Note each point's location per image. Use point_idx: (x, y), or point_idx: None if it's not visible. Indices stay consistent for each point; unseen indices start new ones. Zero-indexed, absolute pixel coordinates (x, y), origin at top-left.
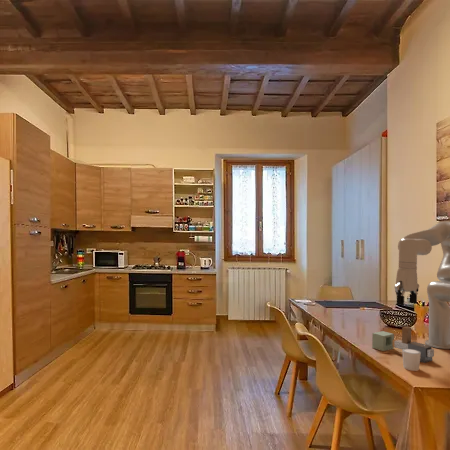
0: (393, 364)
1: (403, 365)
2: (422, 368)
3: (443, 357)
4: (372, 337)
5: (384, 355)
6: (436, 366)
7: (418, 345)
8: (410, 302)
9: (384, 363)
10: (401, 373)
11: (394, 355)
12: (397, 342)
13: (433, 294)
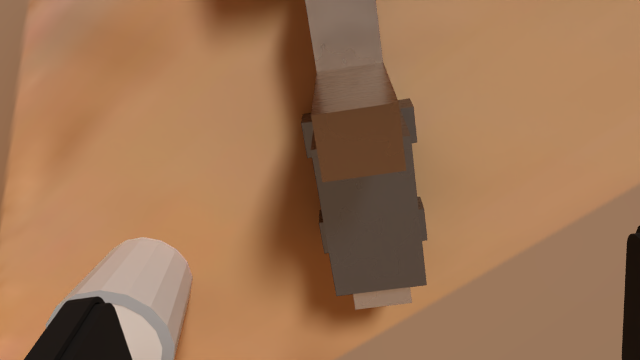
0: (84, 188)
1: (106, 255)
2: (218, 300)
3: (577, 206)
4: None
5: (165, 6)
6: (339, 306)
7: (337, 234)
8: (630, 258)
9: (33, 151)
10: (22, 312)
11: (250, 37)
12: (309, 20)
13: None
